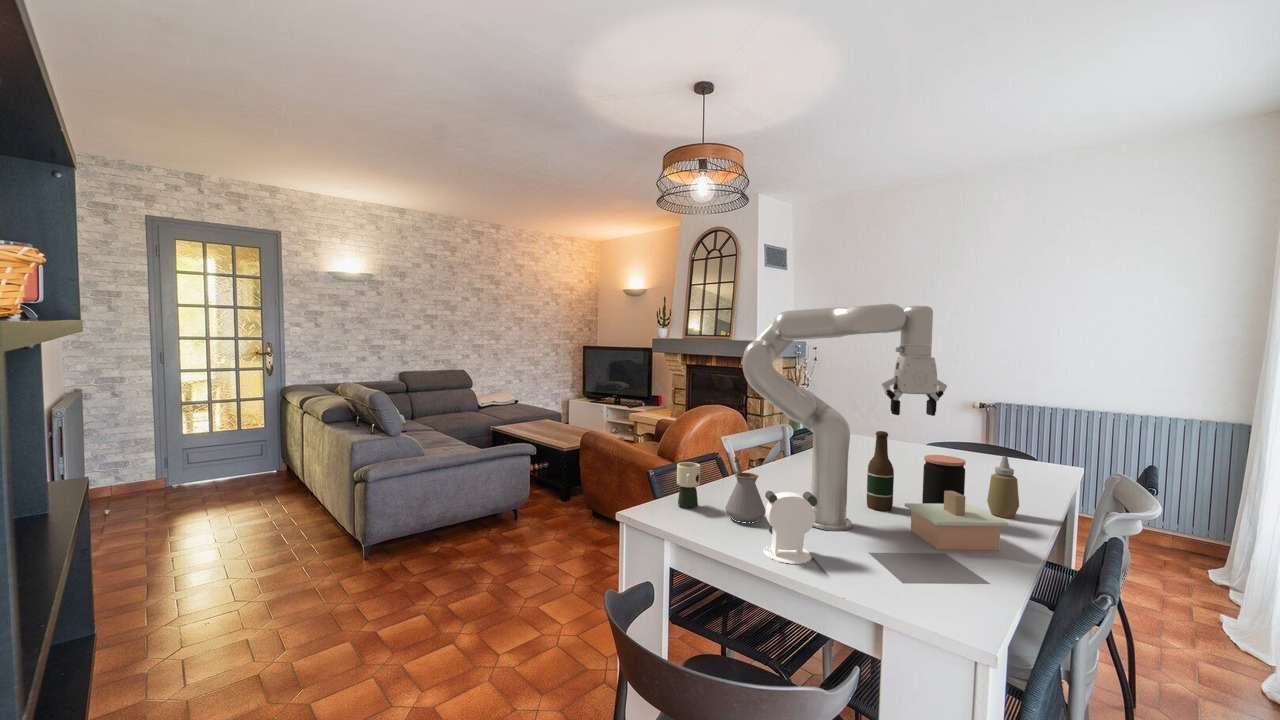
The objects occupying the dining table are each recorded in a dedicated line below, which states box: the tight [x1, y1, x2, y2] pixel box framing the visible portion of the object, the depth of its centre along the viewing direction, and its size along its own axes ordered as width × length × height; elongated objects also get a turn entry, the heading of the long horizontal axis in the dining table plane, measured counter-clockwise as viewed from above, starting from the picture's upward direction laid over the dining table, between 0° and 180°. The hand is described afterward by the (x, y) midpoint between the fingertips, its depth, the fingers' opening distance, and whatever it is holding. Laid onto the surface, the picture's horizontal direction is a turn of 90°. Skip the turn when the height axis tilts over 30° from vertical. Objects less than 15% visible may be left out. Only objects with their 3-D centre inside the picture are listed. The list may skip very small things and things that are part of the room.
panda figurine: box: [762, 490, 817, 565], centre depth 128 cm, size 12×11×15 cm
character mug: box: [676, 461, 701, 508], centre depth 163 cm, size 11×7×13 cm, turn 174°
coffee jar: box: [921, 454, 966, 504], centre depth 156 cm, size 11×11×18 cm
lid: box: [904, 491, 1010, 527], centre depth 137 cm, size 18×15×6 cm
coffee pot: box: [724, 455, 766, 524], centre depth 157 cm, size 21×12×15 cm, turn 2°
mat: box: [868, 552, 991, 585], centre depth 120 cm, size 19×16×1 cm
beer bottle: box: [866, 430, 895, 512], centre depth 165 cm, size 8×8×24 cm
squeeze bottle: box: [986, 455, 1020, 519], centre depth 160 cm, size 8×8×18 cm
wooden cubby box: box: [910, 510, 1001, 552], centre depth 138 cm, size 16×13×7 cm
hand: (913, 414), depth 143 cm, fingers open, 9 cm apart
